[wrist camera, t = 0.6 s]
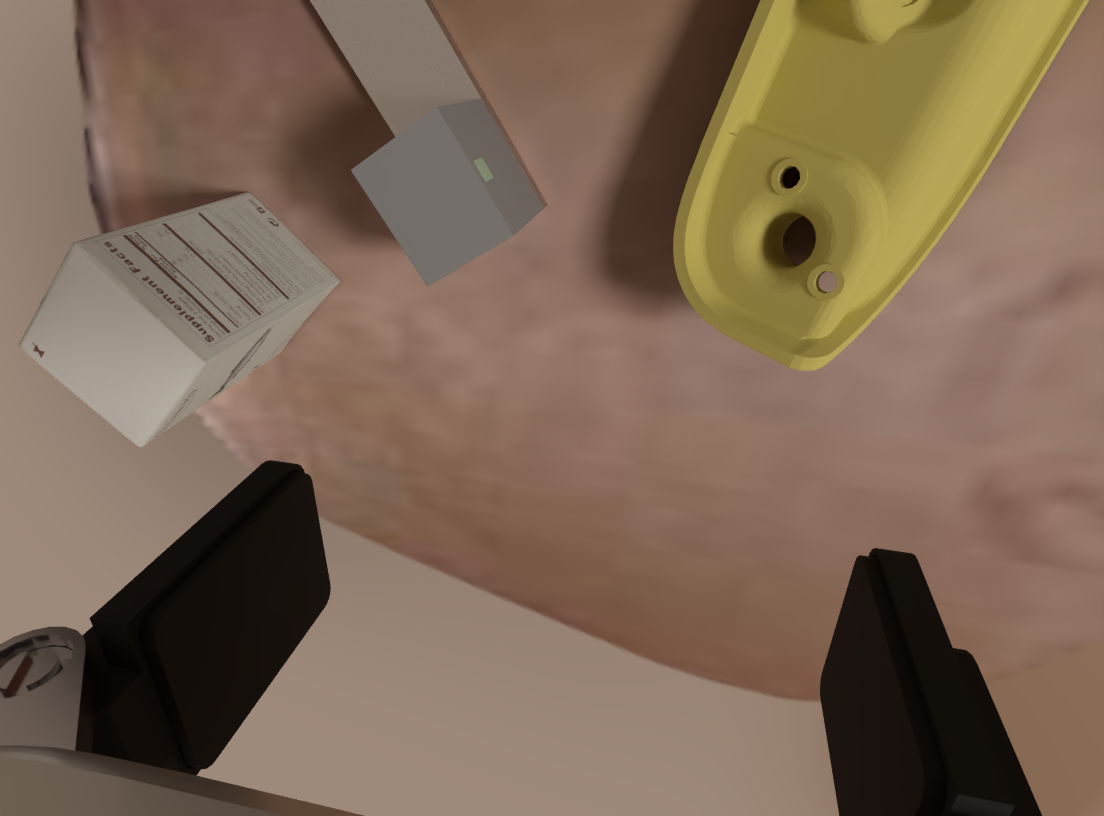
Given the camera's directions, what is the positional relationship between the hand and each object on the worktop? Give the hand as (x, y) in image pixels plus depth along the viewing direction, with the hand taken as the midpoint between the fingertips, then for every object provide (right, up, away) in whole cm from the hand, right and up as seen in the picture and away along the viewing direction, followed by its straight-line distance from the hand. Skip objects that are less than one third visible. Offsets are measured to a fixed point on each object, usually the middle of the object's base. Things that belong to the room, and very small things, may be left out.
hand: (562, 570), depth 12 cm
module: (-4, +15, +23) cm, 28 cm away
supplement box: (-17, +11, +30) cm, 36 cm away
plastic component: (+13, +17, +19) cm, 29 cm away
